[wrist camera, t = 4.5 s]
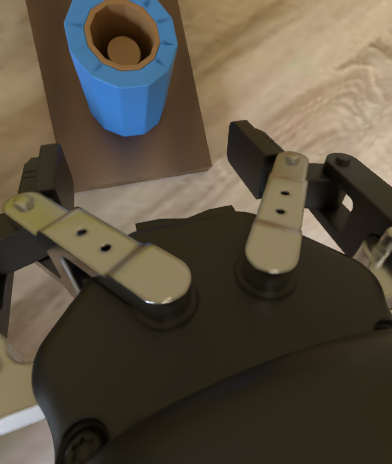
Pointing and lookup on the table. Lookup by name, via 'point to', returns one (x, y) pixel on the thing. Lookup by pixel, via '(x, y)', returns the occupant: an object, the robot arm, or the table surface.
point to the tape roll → (122, 76)
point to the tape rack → (92, 132)
